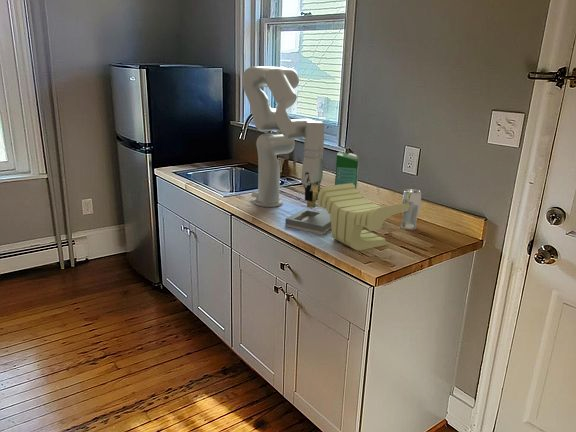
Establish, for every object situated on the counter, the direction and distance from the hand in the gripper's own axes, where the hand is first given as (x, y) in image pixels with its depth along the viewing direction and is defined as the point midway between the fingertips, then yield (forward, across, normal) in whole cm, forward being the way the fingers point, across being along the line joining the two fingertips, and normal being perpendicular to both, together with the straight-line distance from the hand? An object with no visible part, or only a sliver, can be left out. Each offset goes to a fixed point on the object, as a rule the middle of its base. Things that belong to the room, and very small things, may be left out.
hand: (312, 198), depth 190 cm
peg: (+3, 0, 0) cm, 3 cm away
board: (+10, +3, +2) cm, 11 cm away
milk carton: (+10, -24, +4) cm, 26 cm away
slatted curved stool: (+11, +11, +24) cm, 29 cm away
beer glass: (+10, -16, +35) cm, 40 cm away
